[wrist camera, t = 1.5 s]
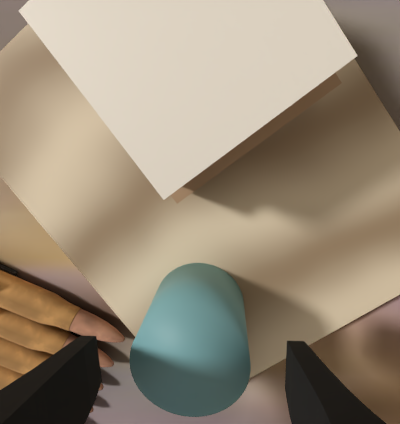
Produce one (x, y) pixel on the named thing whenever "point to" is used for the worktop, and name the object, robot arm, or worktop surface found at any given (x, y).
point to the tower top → (189, 70)
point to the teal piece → (193, 343)
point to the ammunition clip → (41, 326)
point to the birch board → (215, 205)
